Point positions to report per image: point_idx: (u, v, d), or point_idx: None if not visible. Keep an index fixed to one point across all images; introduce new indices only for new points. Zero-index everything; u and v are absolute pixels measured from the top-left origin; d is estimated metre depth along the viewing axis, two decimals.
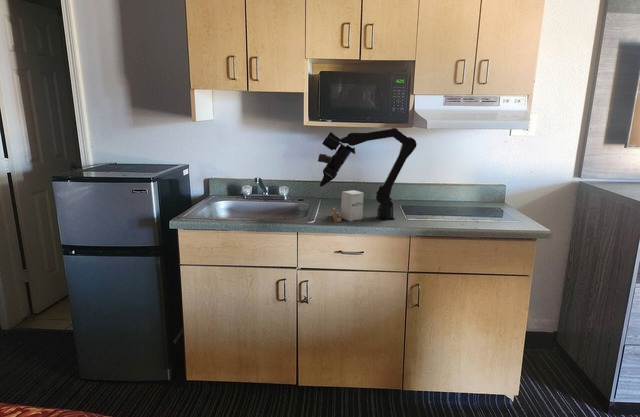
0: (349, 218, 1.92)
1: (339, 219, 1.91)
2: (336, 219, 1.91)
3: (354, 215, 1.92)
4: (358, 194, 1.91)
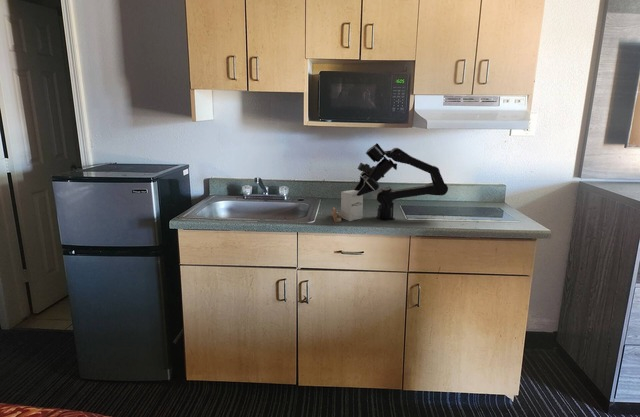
0: (349, 218, 1.92)
1: (339, 219, 1.91)
2: (336, 219, 1.91)
3: (354, 215, 1.92)
4: None
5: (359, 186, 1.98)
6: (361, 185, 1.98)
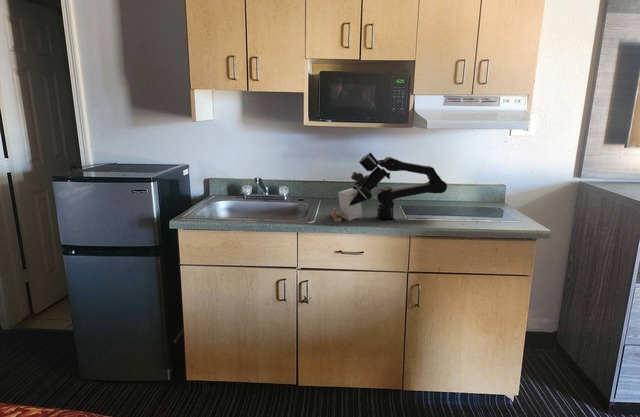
0: (348, 218, 1.92)
1: (339, 219, 1.91)
2: (336, 219, 1.91)
3: (353, 214, 1.92)
4: (354, 193, 1.90)
5: None
6: None
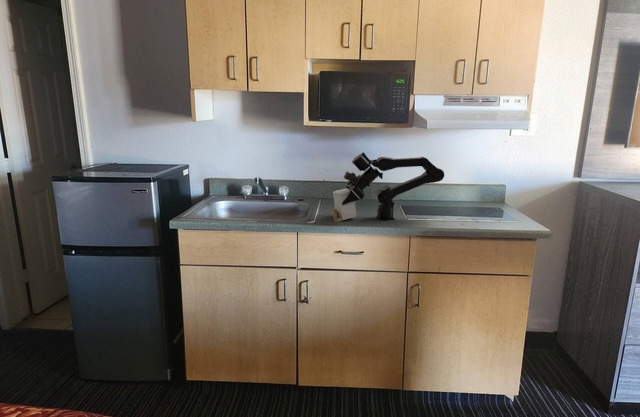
0: (341, 217, 1.92)
1: (339, 219, 1.91)
2: (336, 219, 1.91)
3: (346, 214, 1.92)
4: (347, 193, 1.90)
5: None
6: None
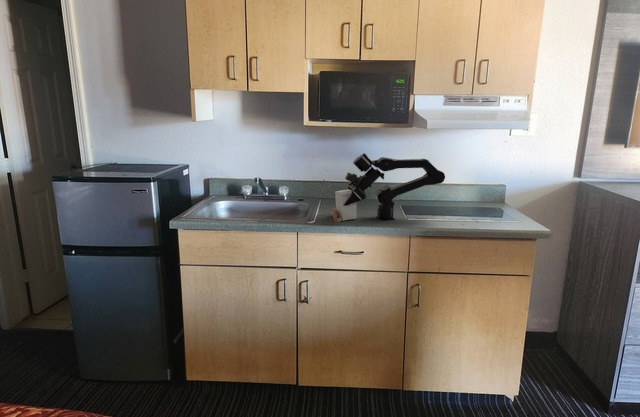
0: (342, 218, 1.92)
1: (339, 219, 1.91)
2: (336, 219, 1.91)
3: (347, 214, 1.92)
4: (349, 194, 1.90)
5: None
6: None
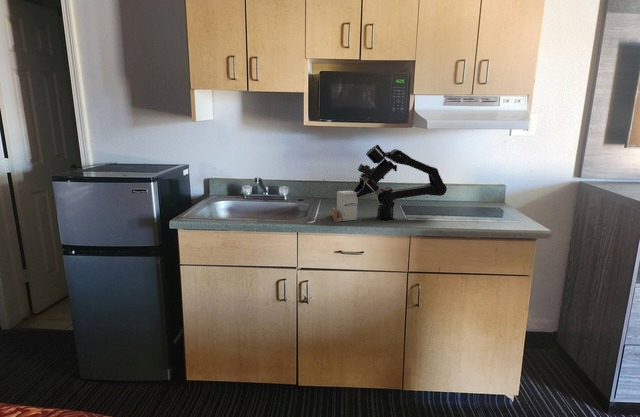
0: (342, 218, 1.92)
1: (339, 219, 1.91)
2: (336, 219, 1.91)
3: (347, 215, 1.92)
4: (351, 194, 1.90)
5: (359, 188, 1.98)
6: (361, 186, 1.98)
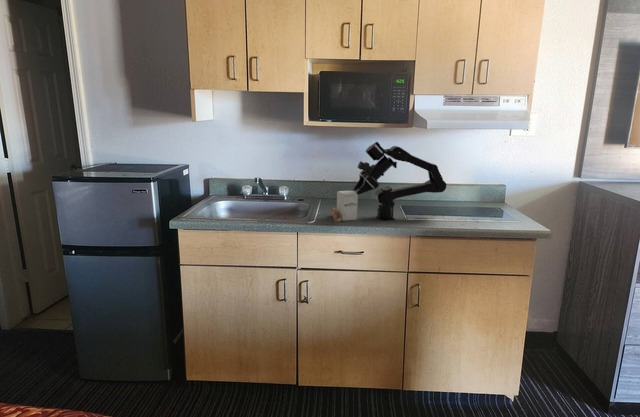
0: (342, 218, 1.92)
1: (339, 219, 1.91)
2: (336, 219, 1.91)
3: (347, 215, 1.92)
4: (351, 194, 1.90)
5: (359, 185, 1.98)
6: (361, 184, 1.98)
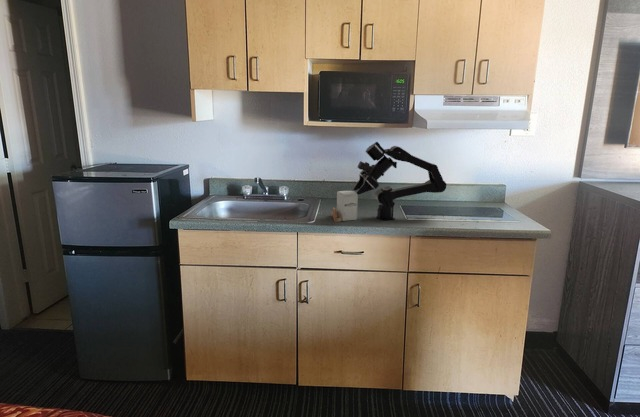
0: (342, 218, 1.92)
1: (339, 219, 1.91)
2: (336, 219, 1.91)
3: (347, 215, 1.92)
4: (351, 194, 1.90)
5: (359, 185, 1.98)
6: (361, 184, 1.98)
